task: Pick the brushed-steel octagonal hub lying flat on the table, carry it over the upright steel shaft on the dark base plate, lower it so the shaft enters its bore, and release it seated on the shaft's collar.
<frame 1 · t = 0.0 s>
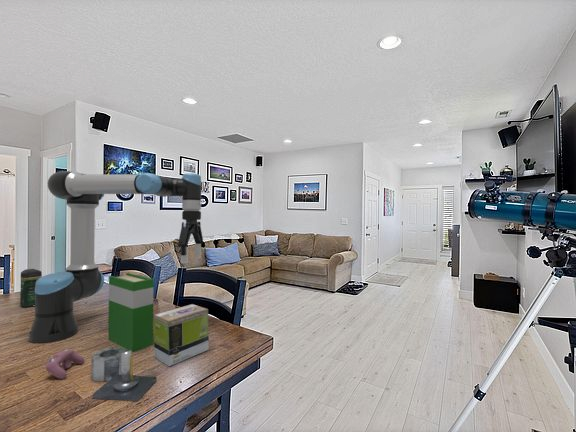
hand: (191, 260, 123), 28 cm above the table, fingers open, 13 cm apart
coffee jar: (31, 305, 150), on the table
hub: (109, 373, 87), on the table
tea box: (181, 354, 100), on the table
video game controller: (65, 372, 88), on the table
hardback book: (130, 342, 108), on the table
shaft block: (126, 389, 79), on the table
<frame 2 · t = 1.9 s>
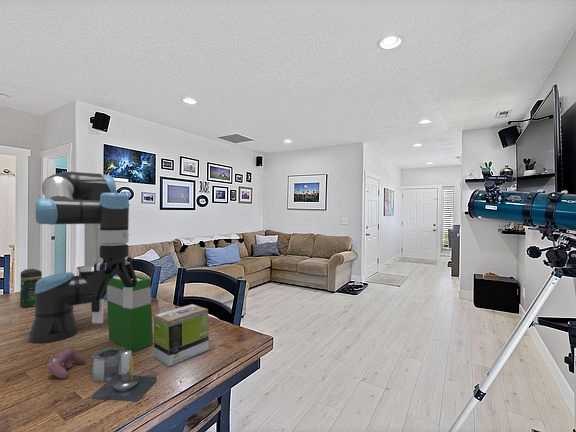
hand: (113, 314, 88), 17 cm above the table, fingers open, 13 cm apart
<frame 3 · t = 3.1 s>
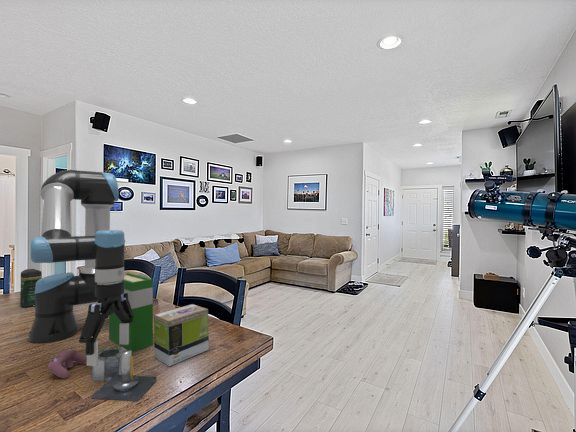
hand: (109, 353, 87), 6 cm above the table, fingers open, 13 cm apart
nothing on the table moved.
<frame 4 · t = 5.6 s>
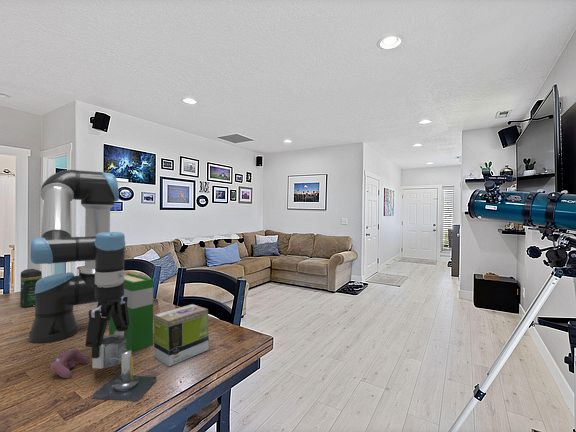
hand: (108, 359, 87), 4 cm above the table, fingers closed on hub, 8 cm apart
hub: (108, 360, 87), point 4 cm above the table, touching gripper
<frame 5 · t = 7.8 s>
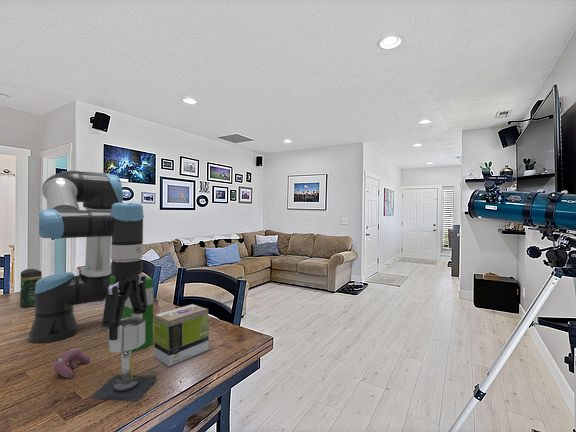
hand: (126, 343, 79), 12 cm above the table, fingers closed on hub, 8 cm apart
hub: (126, 344, 79), point 12 cm above the table, touching gripper
when the fingers open (2 cm above the table, at t = 10.3 s): hub stays where it is, resting on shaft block.
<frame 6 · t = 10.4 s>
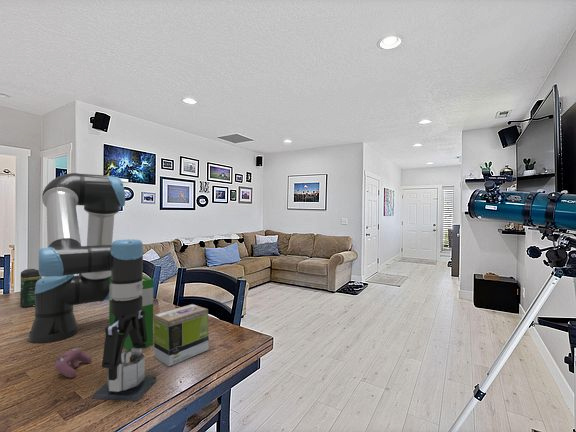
hand: (126, 380, 79), 2 cm above the table, fingers open, 8 cm apart
hub: (126, 381, 79), point 2 cm above the table, touching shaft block
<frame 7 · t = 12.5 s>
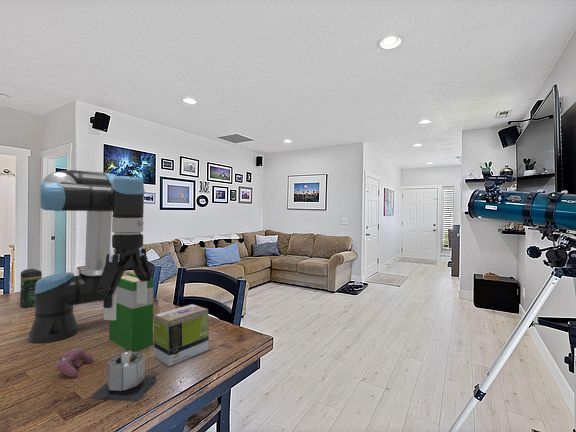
hand: (127, 310, 80), 21 cm above the table, fingers open, 13 cm apart
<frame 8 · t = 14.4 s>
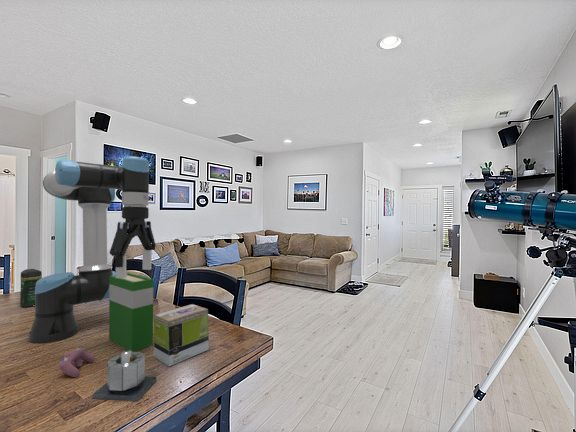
hand: (134, 273, 93), 29 cm above the table, fingers open, 13 cm apart
at the end: hub 0.0 cm off-centre on the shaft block, point 2.2 cm above the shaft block's base; hub tilted 0°; the gripper is holding nothing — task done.
